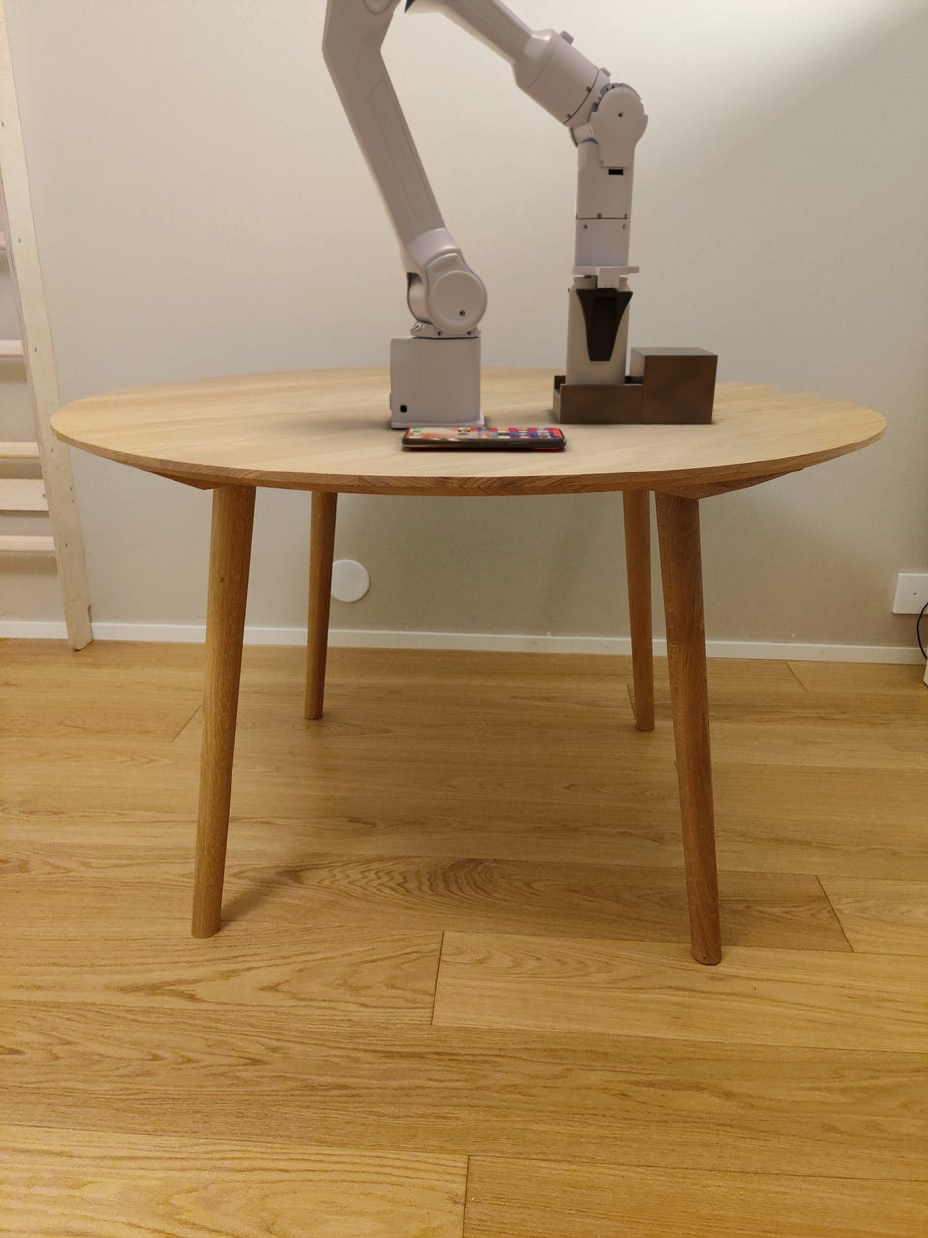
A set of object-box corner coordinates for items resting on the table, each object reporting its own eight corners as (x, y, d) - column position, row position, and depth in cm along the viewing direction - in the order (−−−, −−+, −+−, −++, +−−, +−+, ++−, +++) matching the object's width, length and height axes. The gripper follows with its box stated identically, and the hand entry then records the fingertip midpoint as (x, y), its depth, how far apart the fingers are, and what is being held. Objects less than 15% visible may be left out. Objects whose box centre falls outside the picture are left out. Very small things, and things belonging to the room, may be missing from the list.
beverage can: (628, 391, 102) (636, 275, 98) (618, 398, 97) (625, 276, 92) (572, 388, 104) (577, 275, 100) (558, 395, 99) (563, 276, 94)
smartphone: (406, 426, 90) (561, 426, 89) (406, 436, 90) (560, 436, 90) (400, 438, 83) (567, 439, 82) (400, 449, 83) (567, 450, 83)
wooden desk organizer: (559, 423, 97) (562, 354, 95) (552, 410, 105) (554, 346, 103) (711, 423, 97) (718, 355, 94) (692, 410, 105) (698, 347, 103)
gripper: (654, 216, 87) (644, 364, 92) (630, 222, 101) (622, 350, 106) (580, 217, 87) (574, 364, 92) (565, 222, 101) (561, 350, 106)
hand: (595, 357), depth 99 cm, fingers closed on beverage can, 6 cm apart
